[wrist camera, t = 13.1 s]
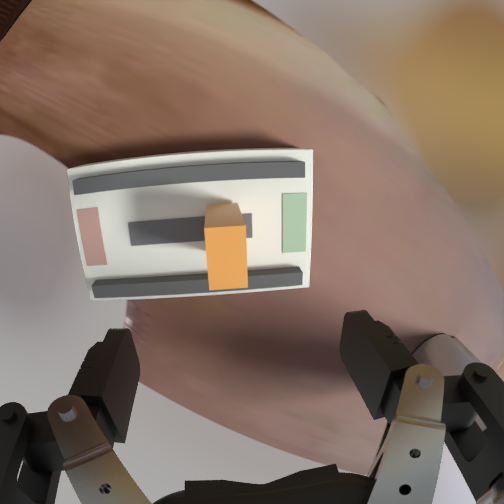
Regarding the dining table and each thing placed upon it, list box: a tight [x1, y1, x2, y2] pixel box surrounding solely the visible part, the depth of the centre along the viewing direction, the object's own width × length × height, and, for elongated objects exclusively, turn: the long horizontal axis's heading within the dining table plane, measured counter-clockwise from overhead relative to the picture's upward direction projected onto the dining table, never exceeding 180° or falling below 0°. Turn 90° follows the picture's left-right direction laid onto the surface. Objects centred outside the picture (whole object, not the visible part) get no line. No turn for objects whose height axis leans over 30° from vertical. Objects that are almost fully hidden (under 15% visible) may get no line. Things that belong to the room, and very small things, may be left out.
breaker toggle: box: [204, 203, 248, 290], centre depth 22 cm, size 2×4×6 cm, turn 1°
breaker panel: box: [67, 148, 313, 301], centre depth 27 cm, size 20×12×4 cm, turn 91°
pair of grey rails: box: [72, 161, 305, 298], centre depth 24 cm, size 18×10×1 cm, turn 91°
